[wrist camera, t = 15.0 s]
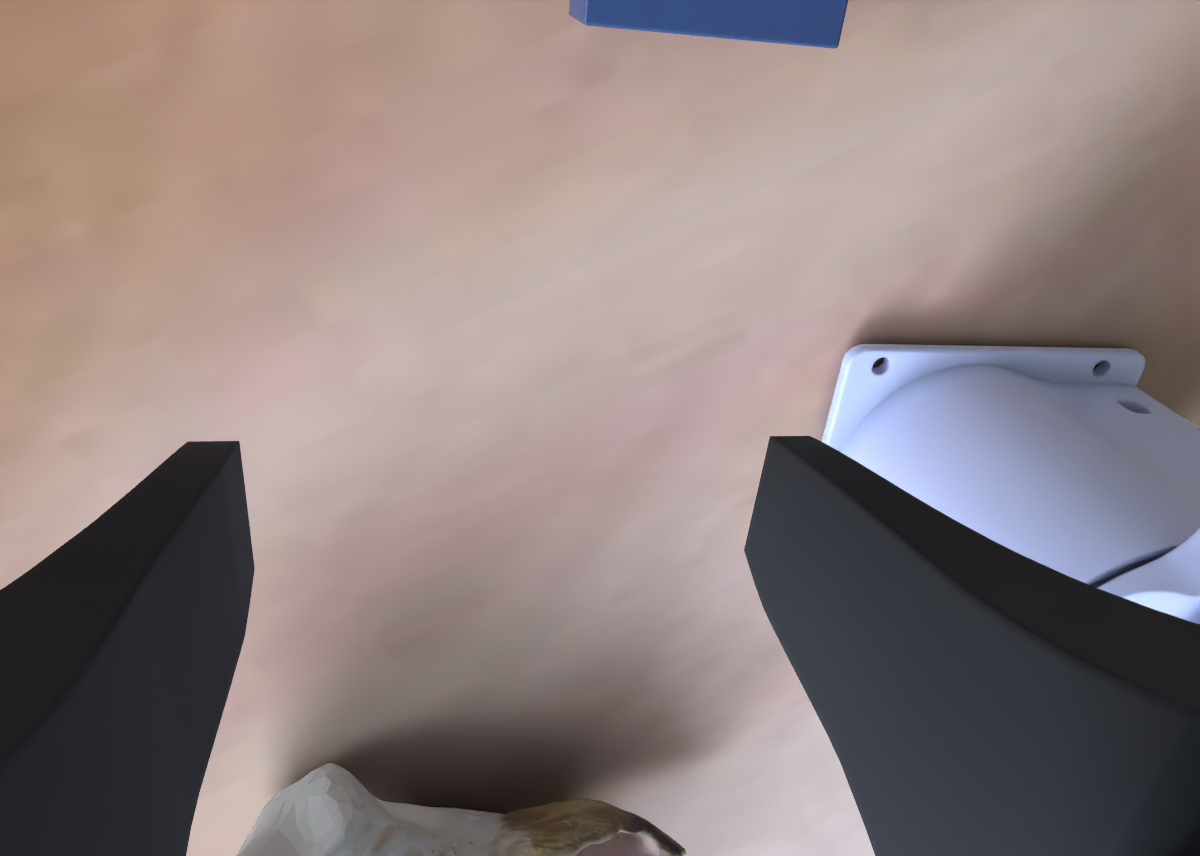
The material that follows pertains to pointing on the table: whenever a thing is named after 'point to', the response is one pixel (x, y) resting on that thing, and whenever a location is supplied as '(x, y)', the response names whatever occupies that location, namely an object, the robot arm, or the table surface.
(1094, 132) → the table surface
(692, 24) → the brush
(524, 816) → the ceramic sculpture
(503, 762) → the table surface
